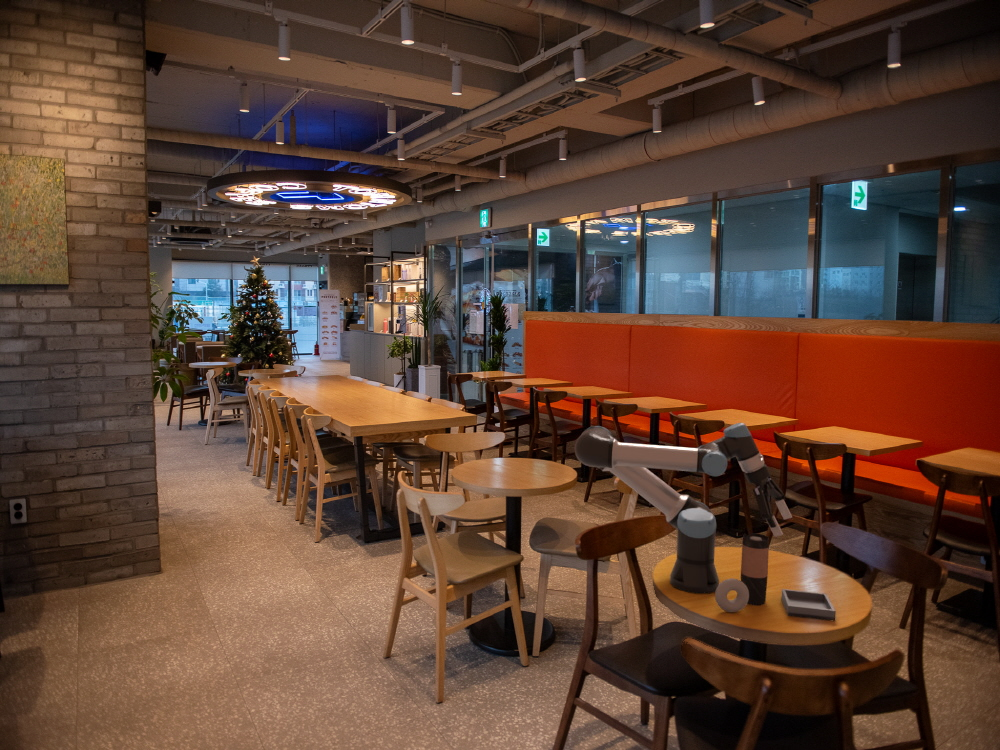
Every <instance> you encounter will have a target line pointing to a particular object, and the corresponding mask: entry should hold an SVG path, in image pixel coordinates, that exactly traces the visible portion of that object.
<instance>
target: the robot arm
mask: <svg viewBox="0 0 1000 750" xmlns="http://www.w3.org/2000/svg"><path fill="white" fill-rule="evenodd" d="M723 434H724V435H723V436H722V437H720V438H718V439H714V440H713V441H710V442H708V443H706V444H701V445H700V446H699V447H685V446H672V445H661V444H659V445H658V444H645V443H634V442H633V443H632V442H623V441H622V442H620V441H619V440H617V438H615V437H614V435H613V434H612V432H611V431H610V430H608V429H607V428H606V427H603V426H600V425H595V426H590V427H588V428H586V429H584V431H583V432H582V433H581V435H579V436H578V438H577V439H576V441H575V444H574V454H575V456H576V458H577V460H578V461H579V462H580V463H581V464H583V465H585V466H588V467H591V468H598V469H599V470H601V471H602V472H610V473H611V474H613V475H614V476H615V477H616V478H618V479H619V480H620V481H622V482H623V483H624V484H626V485H627V486H628V487H629V488H631V489H632V490H633V491H635V492H636V493H637V494H638V495H640V496H641V497H642V498H643V499H645V500H646V501H647V502H649V503H650V504H651V505H652V506H654V507H655V508H656V509H658V511H660V512H661V513H662V514H664V515H665V519H666V522H667V523H668V524H670V526H672V527H673V528H675V530H676V531H677V535H676V536H677V537H676V539H677V541H676V560H675V562H674V565H673V568H672V570H671V573H670V574H669V575H670V578H669V582H670V585H671V584H672V585H673V586H672V585H671V586H672V587H674V588H675V589H677V590H679V591H683V592H686V593H690V594H702V595H704V594H711V593H715V592H716V589H717V587H718V585H719V584H720V580H719V576H718V573H717V568H716V564H715V553H716V550H715V548H716V530H717V521H716V517H715V515H714V514H713V513H712V511H711V509H710V508H709V507H708V505H706V504H705V503H703V502H700V501H698V500H695V499H694V498H693V497H692V496H690V495H689V494H680V493H679V492H677V491H676V490H675V489H673V487H671V486H670V485H669V484H667V483H666V482H665V481H663V480H662V479H661V478H660V477H659V476H657V475H656V474H654V473H653V472H652V471H651V470H649V469H656V470H657V469H658V470H669V471H671V470H672V471H680V472H683V471H684V472H694V473H701V474H702V473H704V474H707V475H709V476H712V477H719V476H721V475H723V474H724V473H725V472H726V470H727V467H728V461H729V460H731V459H733V458H736V460H737V462H738V464H739V467H740V468H741V469H740V470H741V471H742V472H744V473H743V475H744V476H745V479H746V480H747V482H748V483H749V484H754V486H755V488H753V489H752V492H753V494H754V496H755V500H756V503H757V506H758V510H759V514H760V517H761V519H762V520H766V522H767V525H768V527H769V528H770V531H771V532H772V535H773V537H774V538H775V537H780V536H783V535H784V532H782V531H783V530H782V528H781V526H780V524H779V523H778V521H777V519H776V516H775V515H773V511H772V507H771V502H770V498H771V497H772V498H773V499H774V500H775V502H774V503H775V505H776V507H777V509H778V511H779V513H780V514H781V516H782V518H783V520H788V519H791V518H793V515H792V513H791V512H790V510H789V509H790V508H788V506H787V504H786V502H785V500H784V499H786V495H785V493H784V492H783V490H782V489H781V488H780V486H779V485H778V483H777V482H775V480H774V479H773V477H772V476H771V472H770V470H769V467H768V466H767V464H765V460H764V455H763V454H761V452H760V450H759V448H758V446H757V444H756V442H755V440H754V438H753V435H752V433H751V432H750V430H749V429H748V426H747V425H746V424H745V423H744V422H737V423H735V424H732V425H730V426H727V427H726V428H724V429H723Z"/></svg>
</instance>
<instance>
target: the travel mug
mask: <svg viewBox="0 0 1000 750" xmlns="http://www.w3.org/2000/svg"><path fill="white" fill-rule="evenodd" d="M769 546H770V538H769V536H767V535H765V534H761V533H757V532H756V533H755V532H754V533H751V534H746V533H744V534H743V535H742V545H741V547H742V548H741V562H740V563H741V564H740V581H742V582H743V583H744V584H745V585H746V586H747V589H748V591H749V599H748V603H747V604H746V605H750V606H755V607H756V606H757V607H758V606H763V605H765V604H766V602H767V601H766V599H767V585H768V578H769V577H768V575H769V574H768V573H769V555H770V554H769V552H770V551H769V550H770V549H769V548H770V547H769Z"/></svg>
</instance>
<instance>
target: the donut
mask: <svg viewBox="0 0 1000 750" xmlns="http://www.w3.org/2000/svg"><path fill="white" fill-rule="evenodd" d="M731 591H734V592H736V597H735V598H734V599H733V600H732V599H731V600H729V599H728V594H729V593H730V592H731ZM714 599H715V602H716V604H717V607H719V608H720V609H721V610H722V611H724V612H727V613H737V612H740V611H741V610H743V609H744V608H745V607H746V606H747V605H748V604H747V603H748V599H749V591H748V589H747V586H746V585H745V584H744V583H743V582H742V581H741V579H740V580H739V579H737V578H727V579H724V580H722V581H720V582H719V585H718V587H717V589H716V591H715V592H714Z"/></svg>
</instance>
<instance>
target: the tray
mask: <svg viewBox="0 0 1000 750" xmlns="http://www.w3.org/2000/svg"><path fill="white" fill-rule="evenodd" d="M780 599H781V602H782V605H783V608H784V609H785V612H786V614H787V616H788V617H795V618H804V619H812V620H821V621H830V620H833V621H832V622H836V614H837V613H836V611H837V610H836V609H835V607H834V605H833V603H832V602H831V599H830V597H829V596H828V594H827V593H825V592H824V593H823V592H815V591H806V590H796V589H795V590H794V589H787V588H781V597H780Z"/></svg>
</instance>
